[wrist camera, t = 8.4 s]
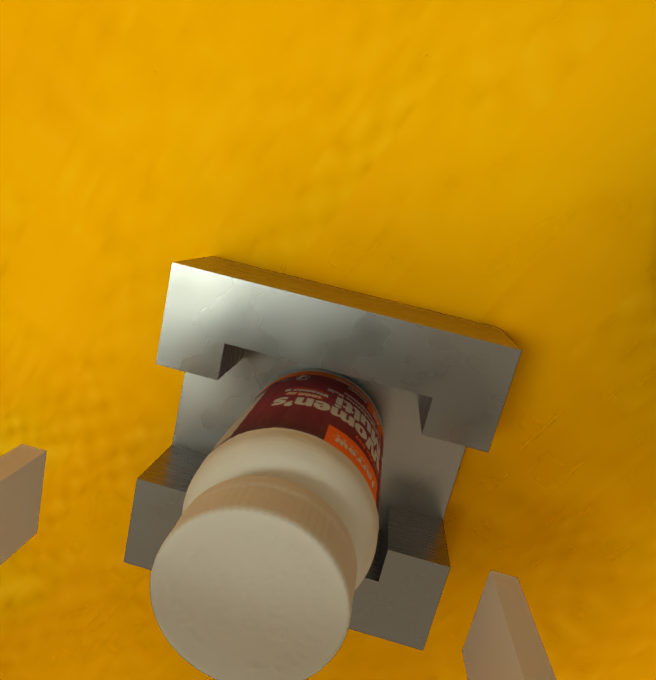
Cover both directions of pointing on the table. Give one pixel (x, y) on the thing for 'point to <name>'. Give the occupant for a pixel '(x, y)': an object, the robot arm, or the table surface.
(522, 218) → the table surface
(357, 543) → the pill bottle
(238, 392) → the bracket
